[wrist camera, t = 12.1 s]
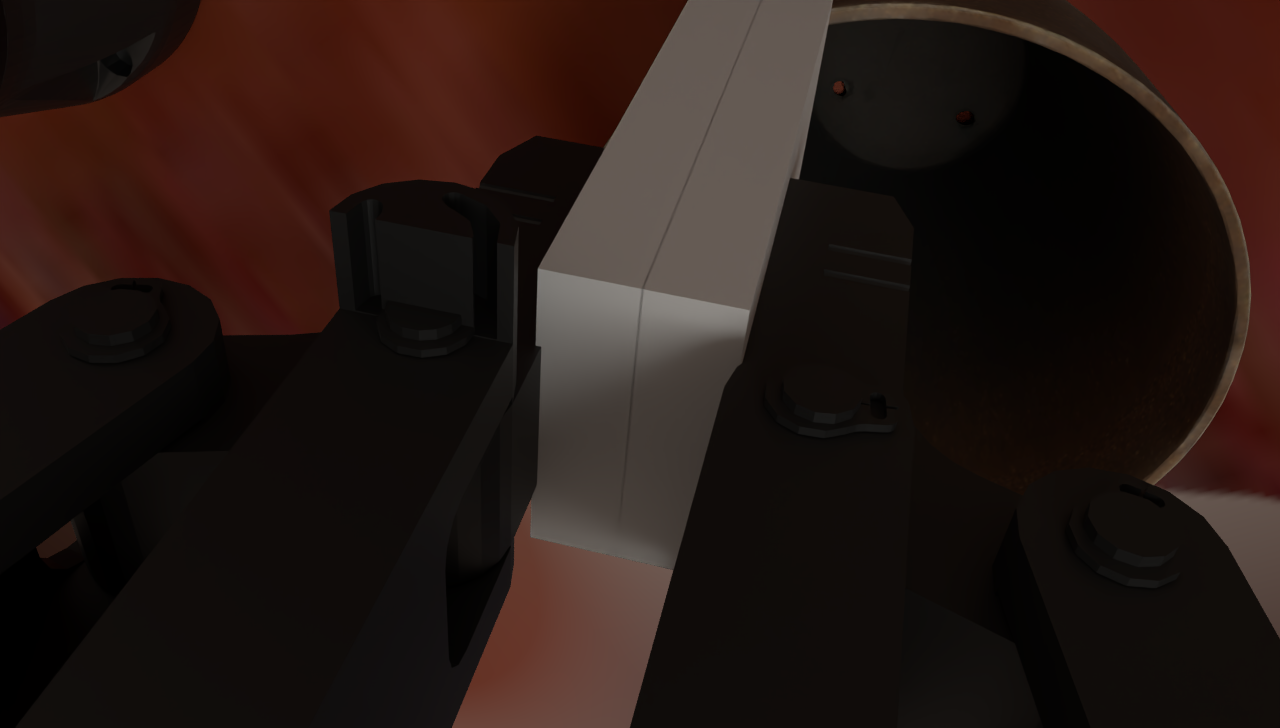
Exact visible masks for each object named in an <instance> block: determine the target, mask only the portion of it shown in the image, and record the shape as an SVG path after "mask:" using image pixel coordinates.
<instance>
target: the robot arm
mask: <svg viewBox="0 0 1280 728" xmlns="http://www.w3.org/2000/svg"><path fill="white" fill-rule="evenodd" d="M832 3H833V0H688V1H687V3H686V5H685V7H684V8H683V10H682V12H681V14H680V16H679V17H678V19H677V21H676V23H675V25H674V26H673V28H672V30H671V32H670V33H669V35H668V37H667V39H666V41H665V42H664V44H663V46H662V48H661V50H660V51H659V53H658V55H657V57H656V58H655V60H654V62H653V64H652V66H651V67H650V69H649V71H648V73H647V75H646V76H645V78H644V80H643V82H642V83H641V85H640V87H639V89H638V91H637V92H636V94H635V96H634V98H633V100H632V101H631V103H630V105H629V107H628V108H627V110H626V112H625V114H624V116H623V117H622V119H621V121H620V123H619V125H618V126H617V128H616V130H615V132H614V133H613V135H612V137H611V139H610V141H609V142H608V144H607V146H606V148H601V147H596V146H590V145H585V144H579V143H574V142H568V141H563V140H557V139H552V138H546V137H541V136H535V137H533V138H531V139H529V140H528V141H526V142H524V143H522V144H520V145H518V146H516V147H514V148H513V149H511V150H509V151H507V152H505V153H503V154H501V155H500V156H499V157H498V158H497V160H496V161H495V162H494V164H493V165H492V167H491V168H490V169H489V171H488V172H487V174H486V175H485V176H484V178H483V179H482V181H481V182H480V187H479V188H476V189H474V188H471V187H467V186H464V185H461V184H458V183H453V182H441V181H429V180H412V181H403V182H394V183H385V184H381V185H378V186H375V187H372V188H369V189H366V190H363V191H360V192H357V193H354V194H352V195H350V196H349V197H347V198H346V199H345V200H343V201H342V202H340V203H339V204H338V205H336V206H335V207H334V208H332V209H331V210H329V212H330V222H331V231H332V240H333V250H334V259H335V268H336V278H337V287H338V296H339V306H340V309H339V310H338V311H337V313H336V314H335V315H334V317H333V318H332V319H331V321H330V322H329V323H328V324H327V326H326V327H325V328H324V330H323V331H322V332H320V333H308V334H296V335H230V336H223V334H222V329H221V324H220V319H219V317H218V314H217V312H216V310H215V308H214V306H213V303H212V301H211V299H209V298H208V297H206V296H205V295H203V294H201V293H200V292H198V291H197V290H195V289H194V288H192V287H191V286H189V285H185V284H181V283H177V282H173V281H168V280H164V279H160V278H120V279H114V280H110V281H106V282H101V283H96V284H91V285H86V286H83V287H80V288H78V289H76V290H73V291H71V292H69V293H67V294H64V295H62V296H60V297H57V298H55V299H53V300H50V301H49V302H47V303H45V304H44V305H42V306H40V307H38V308H37V309H35V310H33V311H32V312H30V313H28V314H27V315H25V316H23V317H21V318H20V319H18V320H16V321H15V322H13V323H11V324H10V325H8V326H6V327H4V328H3V329H1V330H0V728H452V726H453V723H454V721H455V718H456V716H457V714H458V711H459V709H460V706H461V704H462V701H463V699H464V697H465V694H466V692H467V690H468V687H469V685H470V682H471V680H472V677H473V675H474V673H475V670H476V668H477V666H478V663H479V661H480V658H481V656H482V654H483V651H484V649H485V646H486V644H487V641H488V639H489V637H490V634H491V632H492V630H493V627H494V625H495V622H496V620H497V618H498V615H499V613H500V610H501V608H502V606H503V603H504V601H505V598H506V596H507V594H508V591H509V589H510V585H511V579H512V571H513V566H514V536H515V534H516V532H517V529H518V527H519V525H520V522H521V520H522V518H523V516H524V513H525V511H526V509H527V506H528V504H529V502H530V500H532V501H531V534H530V537H532V538H537V539H541V540H545V541H550V542H554V543H558V544H563V545H567V546H571V547H576V548H580V549H584V550H589V551H593V552H598V553H602V554H606V555H611V556H615V557H620V558H624V559H628V560H632V561H637V562H641V563H646V564H650V565H654V566H659V567H663V568H667V569H672V570H673V574H672V577H671V581H670V585H669V588H668V592H667V595H666V599H665V603H664V606H663V610H662V613H661V617H660V621H659V625H658V628H657V632H656V635H655V639H654V642H653V646H652V650H651V653H650V657H649V661H648V664H647V668H646V672H645V675H644V679H643V682H642V686H641V690H640V693H639V697H638V700H637V704H636V708H635V711H634V715H633V718H632V722H631V726H630V728H1280V639H1279V637H1278V635H1277V633H1276V631H1275V630H1274V628H1273V626H1272V624H1271V623H1270V621H1269V619H1268V617H1267V615H1266V614H1265V612H1264V610H1263V608H1262V607H1261V605H1260V603H1259V601H1258V599H1257V598H1256V596H1255V594H1254V593H1253V591H1252V589H1251V587H1250V585H1249V584H1248V582H1247V580H1246V578H1245V576H1244V575H1243V573H1242V571H1241V570H1240V568H1239V566H1238V564H1237V562H1236V560H1235V559H1234V557H1233V555H1232V553H1231V552H1230V550H1229V548H1228V546H1227V545H1226V544H1225V543H1224V542H1223V540H1222V539H1221V538H1220V537H1219V535H1218V534H1217V533H1216V532H1215V530H1214V529H1213V528H1212V527H1211V525H1210V524H1209V523H1208V522H1207V521H1206V519H1205V518H1204V517H1203V516H1202V515H1200V514H1199V513H1197V512H1196V511H1195V510H1193V509H1192V508H1191V507H1189V506H1188V505H1186V504H1185V503H1184V502H1182V501H1181V500H1180V499H1178V498H1177V497H1175V496H1174V495H1173V494H1171V493H1170V492H1168V491H1166V490H1164V489H1161V488H1159V487H1157V486H1154V485H1152V484H1150V483H1147V482H1145V481H1143V480H1140V479H1138V478H1136V477H1133V476H1131V475H1128V474H1122V473H1117V472H1111V471H1106V470H1100V469H1095V468H1079V469H1069V470H1058V471H1053V472H1051V473H1050V474H1048V475H1046V476H1044V477H1042V478H1040V479H1038V480H1037V481H1035V482H1033V483H1031V484H1029V485H1028V487H1027V489H1026V491H1025V492H1024V494H1023V495H1021V494H1018V493H1016V492H1014V491H1012V490H1009V489H1007V488H1005V487H1003V486H1001V485H998V484H996V483H994V482H992V481H989V480H987V479H985V478H983V477H981V476H978V475H977V474H975V473H973V472H971V471H969V470H967V469H966V468H964V467H962V466H960V465H958V464H956V463H955V462H953V461H951V460H950V459H949V458H947V457H946V456H945V455H944V454H942V453H941V452H940V451H939V450H937V449H936V448H935V447H933V446H932V445H931V444H930V443H929V442H928V441H927V440H926V438H925V437H924V436H923V435H922V434H921V433H920V431H919V430H918V429H917V428H916V427H915V426H914V423H913V419H912V415H911V410H910V406H909V402H908V401H907V399H906V398H905V397H904V393H903V383H904V368H905V353H906V339H907V324H908V309H909V294H910V292H909V288H910V279H911V266H910V265H911V261H912V249H913V234H914V227H913V226H912V224H911V223H910V221H909V220H908V218H907V216H906V215H905V213H904V212H903V210H902V209H901V207H900V206H899V204H898V202H897V201H896V199H895V198H894V197H893V196H887V195H882V194H876V193H871V192H865V191H860V190H854V189H849V188H843V187H838V186H832V185H827V184H821V183H816V182H810V181H805V180H799V176H800V171H801V166H802V160H803V155H804V150H805V145H806V139H807V134H808V129H809V124H810V118H811V113H812V108H813V103H814V97H815V92H816V87H817V82H818V76H819V71H820V66H821V61H822V55H823V50H824V45H825V40H826V34H827V29H828V24H829V19H830V13H831V8H832ZM199 4H200V0H0V117H4V116H11V115H17V114H24V113H30V112H37V111H44V110H50V109H57V108H63V107H70V106H76V105H82V104H87V103H91V102H94V101H98V100H100V99H103V98H106V97H108V96H111V95H113V94H116V93H118V92H119V91H121V90H123V89H125V88H127V87H128V86H130V85H131V84H133V83H134V82H135V81H137V80H138V79H140V78H141V77H143V76H144V75H146V74H147V73H149V72H150V71H152V70H153V69H154V68H156V67H157V66H159V65H160V64H162V63H163V62H164V61H165V60H166V59H167V58H169V57H170V55H171V54H172V53H173V52H174V51H175V50H176V49H177V48H178V46H179V45H180V44H181V42H182V41H183V40H184V38H185V36H186V35H187V33H188V31H189V30H190V27H191V25H192V23H193V21H194V19H195V16H196V13H197V11H198V8H199ZM69 521H71V523H72V526H73V529H74V532H75V535H76V538H77V541H75V542H74V543H73V544H71V545H70V546H69V547H68V548H66V549H64V550H62V551H60V552H58V553H56V554H54V555H53V556H51V557H49V558H40V557H39V554H38V552H37V549H36V547H37V546H38V545H40V543H42V542H43V541H45V540H46V539H47V538H49V537H50V536H51V535H52V534H54V533H55V532H56V531H58V530H59V529H60V528H61V527H63V526H64V525H65V524H67V523H68V522H69Z"/></svg>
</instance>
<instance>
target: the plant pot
mask: <svg viewBox="0 0 1280 728" xmlns="http://www.w3.org/2000/svg"><path fill="white" fill-rule="evenodd" d="M837 81H842V82H844V85H845V88H846V94H845V95H844V96H839V95H837V94H836V93H834V90H833V86H834V83H835V82H837ZM963 111H969V112H972V114H973V115H974V121H973V123H972V124H970V125H962V124H960V123H958V122H957V120H956V116H957V114H959V113H960V112H963ZM611 137H612V136H611ZM611 137H610V139H611ZM610 139H609V140H608V142H609V141H610ZM608 142H607V143H606V145H605V146H604V147H603V148H606V146H607V144H608ZM799 180H805V181H810V182H816V183H821V184H827V185H832V186H838V187H843V188H849V189H854V190H860V191H865V192H871V193H876V194H882V195H887V196H893V197H894V198H895V199H896V201H897V202H898V204H899V206H900V207H901V209H902V210H903V212H904V213H905V215H906V216H907V218H908V220H909V221H910V223H911V224H912V226H913V227H914V234H913V249H912V261H911V265H910V266H911V279H910V288H909V292H910V294H909V309H908V324H907V339H906V353H905V368H904V383H903V393H904V397H905V398H906V399H907V401H908V402H909V406H910V410H911V415H912V419H913V423H914V426H915V427H916V428H917V429H918V430H919V431H920V433H921V434H922V435H923V436H924V437H925V438H926V440H927V441H928V442H929V443H930V444H931V445H932V446H933V447H935V448H936V449H937V450H939V451H940V452H941V453H942V454H944V455H945V456H946V457H947V458H949V459H950V460H951V461H953V462H955V463H956V464H958V465H960V466H962V467H964V468H966V469H967V470H969V471H971V472H973V473H975V474H977V475H978V476H981V477H983V478H985V479H987V480H989V481H992V482H994V483H996V484H998V485H1001V486H1003V487H1005V488H1007V489H1009V490H1012V491H1014V492H1016V493H1018V494H1021V495H1023V494H1024V492H1025V491H1026V489H1027V487H1028V485H1029V484H1031V483H1033V482H1035V481H1037V480H1038V479H1040V478H1042V477H1044V476H1046V475H1048V474H1050V473H1051V472H1053V471H1058V470H1069V469H1079V468H1095V469H1100V470H1106V471H1111V472H1117V473H1122V474H1128V475H1131V476H1133V477H1136V478H1138V479H1140V480H1143V481H1145V482H1147V483H1150V484H1152V485H1155V484H1156V483H1157V482H1158V481H1159V480H1160V479H1161V478H1162V477H1163V476H1165V475H1166V474H1167V473H1168V472H1169V471H1170V470H1171V469H1172V468H1173V467H1174V466H1175V465H1176V464H1177V463H1178V462H1179V461H1180V460H1181V459H1182V458H1183V457H1184V456H1185V455H1186V454H1187V452H1188V451H1189V450H1190V449H1191V448H1192V446H1193V445H1194V444H1195V443H1196V442H1197V440H1198V439H1199V438H1200V436H1201V435H1202V434H1203V432H1204V431H1205V429H1206V428H1207V427H1208V425H1209V424H1210V422H1211V421H1212V419H1213V417H1214V416H1215V414H1216V413H1217V411H1218V409H1219V408H1220V406H1221V404H1222V403H1223V401H1224V399H1225V396H1226V394H1227V392H1228V390H1229V387H1230V385H1231V383H1232V381H1233V379H1234V376H1235V373H1236V370H1237V367H1238V364H1239V361H1240V358H1241V355H1242V352H1243V349H1244V345H1245V340H1246V335H1247V330H1248V324H1249V313H1250V300H1251V288H1250V268H1249V259H1248V253H1247V248H1246V242H1245V238H1244V234H1243V230H1242V226H1241V222H1240V219H1239V216H1238V214H1237V211H1236V209H1235V206H1234V203H1233V201H1232V198H1231V196H1230V193H1229V190H1228V188H1227V187H1226V185H1225V183H1224V181H1223V179H1222V177H1221V175H1220V173H1219V172H1218V170H1217V168H1216V166H1215V165H1214V163H1213V162H1212V160H1211V159H1210V157H1209V156H1208V154H1207V152H1206V151H1205V150H1204V148H1203V147H1202V145H1201V144H1200V142H1199V141H1198V139H1197V138H1196V137H1195V136H1194V135H1193V133H1192V132H1191V131H1190V130H1189V128H1188V127H1187V126H1186V125H1185V123H1184V122H1183V121H1182V120H1181V118H1180V117H1179V116H1178V114H1177V113H1176V112H1175V111H1174V109H1173V108H1172V107H1171V106H1170V105H1169V103H1168V102H1167V101H1166V100H1165V99H1164V97H1163V96H1162V95H1161V94H1160V92H1159V91H1158V90H1157V89H1156V88H1155V86H1154V85H1153V84H1152V83H1151V82H1150V80H1149V79H1148V78H1147V77H1146V76H1145V74H1144V73H1143V72H1142V71H1141V70H1140V68H1139V67H1138V66H1137V65H1136V64H1135V63H1134V62H1133V60H1132V59H1131V58H1130V57H1129V56H1128V55H1127V54H1126V53H1125V52H1124V51H1123V49H1122V48H1121V47H1120V46H1119V45H1118V44H1117V43H1116V42H1115V41H1114V40H1112V39H1111V38H1110V37H1109V36H1108V35H1107V34H1106V33H1105V32H1104V31H1103V30H1101V29H1100V28H1099V27H1098V26H1097V25H1096V24H1095V23H1094V22H1092V21H1091V20H1090V19H1089V18H1088V17H1087V16H1085V15H1084V14H1083V13H1082V12H1080V11H1079V10H1078V9H1076V8H1075V7H1074V6H1073V5H1071V4H1070V3H1069V2H1067V1H1066V0H833V3H832V8H831V13H830V19H829V24H828V29H827V34H826V40H825V45H824V50H823V55H822V61H821V66H820V71H819V76H818V82H817V87H816V92H815V97H814V103H813V108H812V113H811V118H810V124H809V129H808V134H807V139H806V145H805V150H804V155H803V160H802V166H801V171H800V176H799Z"/></svg>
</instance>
